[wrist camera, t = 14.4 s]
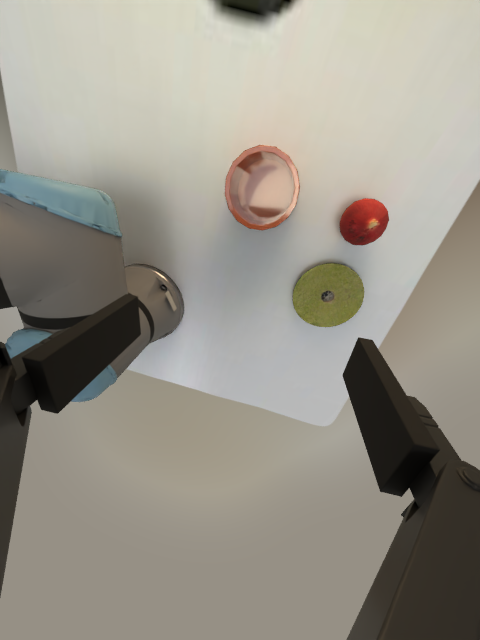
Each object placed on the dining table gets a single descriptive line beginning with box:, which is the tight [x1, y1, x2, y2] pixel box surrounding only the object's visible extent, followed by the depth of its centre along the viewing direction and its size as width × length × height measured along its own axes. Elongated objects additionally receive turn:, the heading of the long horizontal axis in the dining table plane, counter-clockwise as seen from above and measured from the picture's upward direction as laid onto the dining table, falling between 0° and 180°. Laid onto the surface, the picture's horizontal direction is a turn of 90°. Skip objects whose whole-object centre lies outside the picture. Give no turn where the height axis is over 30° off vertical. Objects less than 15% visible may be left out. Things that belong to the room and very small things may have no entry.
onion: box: [340, 198, 389, 245], centre depth 32 cm, size 6×6×8 cm
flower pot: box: [225, 145, 300, 230], centre depth 33 cm, size 9×9×7 cm
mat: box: [293, 263, 364, 327], centre depth 41 cm, size 11×11×2 cm
